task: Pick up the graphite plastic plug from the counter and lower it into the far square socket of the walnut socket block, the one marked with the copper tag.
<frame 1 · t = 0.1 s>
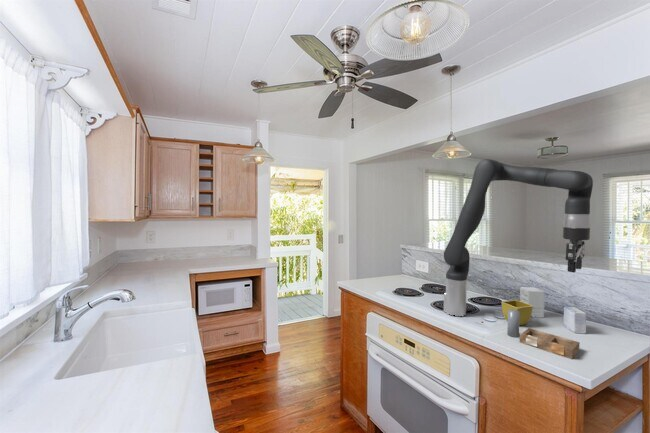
hand: (574, 270, 110), 29 cm above the table, tool pointing down, fingers open, 8 cm apart
flower pot: (516, 323, 135), on the table
medicine box: (574, 330, 128), on the table
supplement box: (531, 315, 146), on the table
socket block: (548, 346, 113), on the table
plug: (513, 335, 122), on the table
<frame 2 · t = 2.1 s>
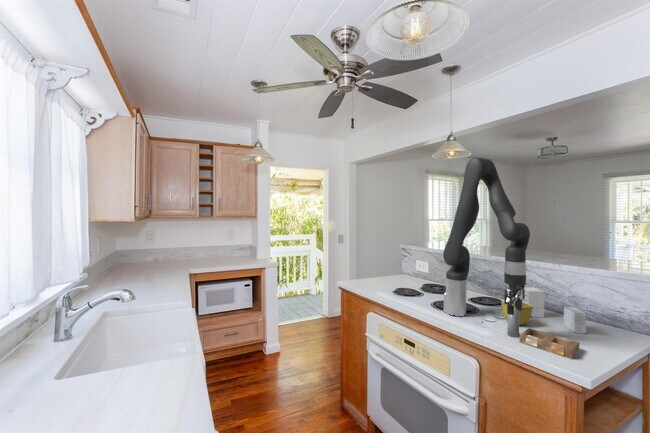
hand: (514, 312, 122), 10 cm above the table, tool pointing down, fingers open, 8 cm apart
nothing on the table moved.
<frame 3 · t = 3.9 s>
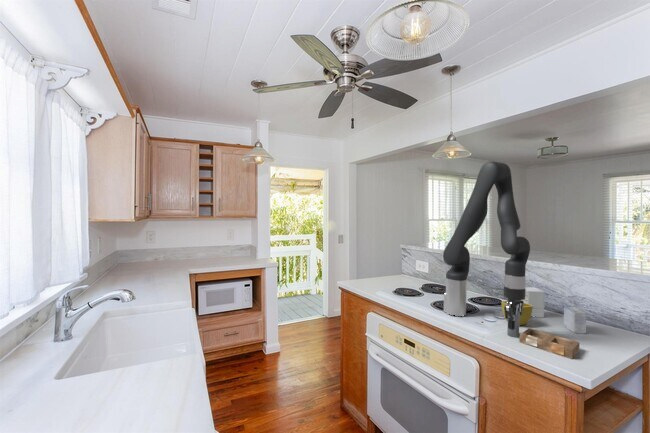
hand: (513, 327, 122), 3 cm above the table, tool pointing down, fingers closed on plug, 4 cm apart
plug: (513, 335, 122), on the table, touching gripper
everything else where it was.
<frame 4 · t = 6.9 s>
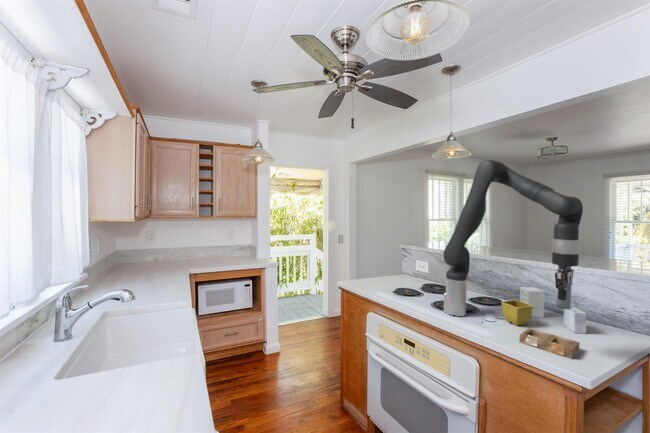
hand: (563, 298, 109), 19 cm above the table, tool pointing down, fingers closed on plug, 4 cm apart
plug: (563, 307, 109), point 16 cm above the table, touching gripper
everything else where it was.
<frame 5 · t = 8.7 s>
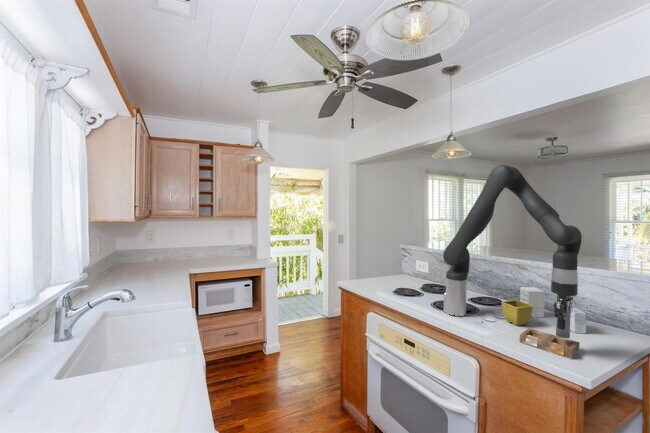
hand: (562, 327, 109), 9 cm above the table, tool pointing down, fingers closed on plug, 4 cm apart
plug: (562, 335, 109), point 5 cm above the table, touching gripper
everything else where it was.
when the fingers open (5 cm above the table, at t = 10.3 s): plug drops 1 cm, resting in socket block.
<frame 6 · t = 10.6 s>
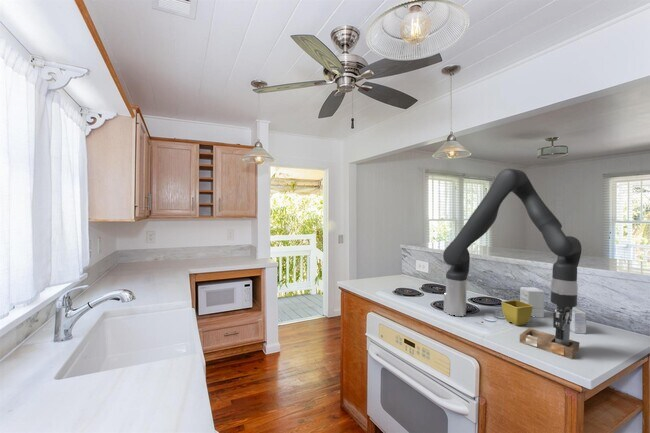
hand: (562, 336, 110), 5 cm above the table, tool pointing down, fingers open, 6 cm apart
plug: (561, 350, 110), resting in socket block
everything else where it was.
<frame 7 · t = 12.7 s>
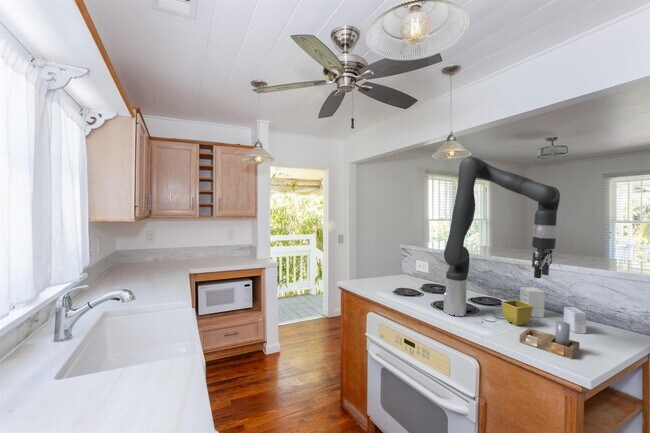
hand: (541, 276, 120), 25 cm above the table, tool pointing down, fingers open, 8 cm apart
nothing on the table moved.
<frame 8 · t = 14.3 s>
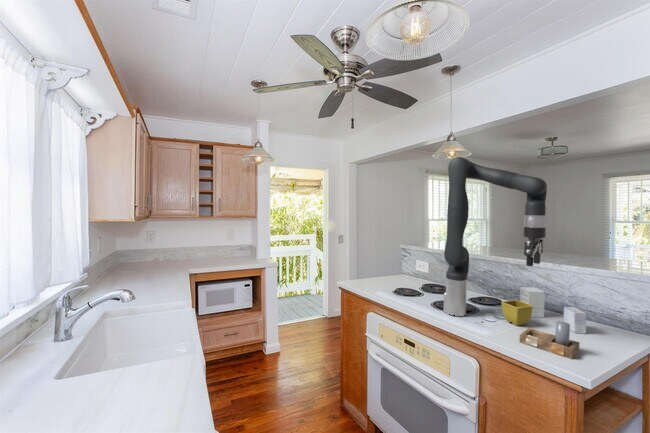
hand: (533, 264, 126), 28 cm above the table, tool pointing down, fingers open, 8 cm apart
nothing on the table moved.
at the end: plug 0.0 cm from the target spot on the socket block, point 0.0 cm above the socket block's base; plug tilted 0°; the gripper is holding nothing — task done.
